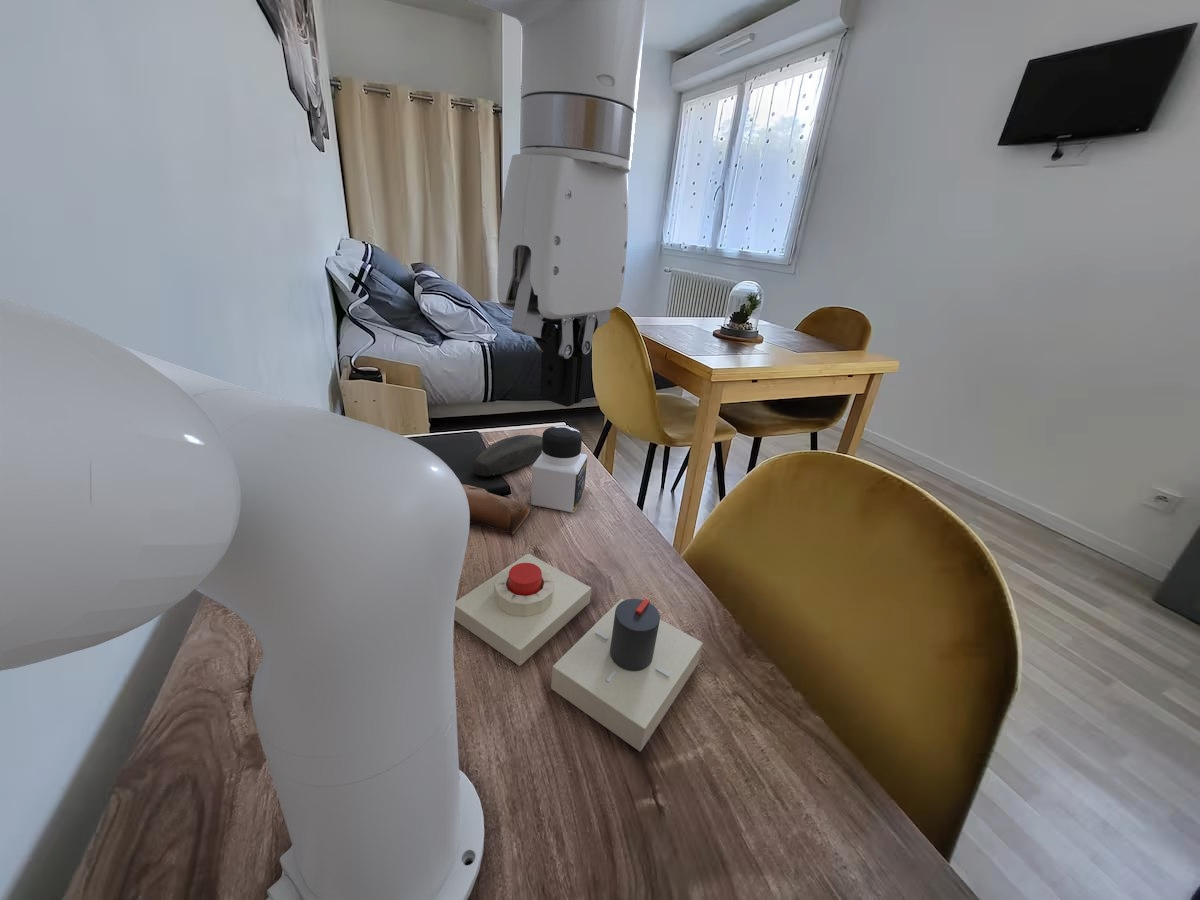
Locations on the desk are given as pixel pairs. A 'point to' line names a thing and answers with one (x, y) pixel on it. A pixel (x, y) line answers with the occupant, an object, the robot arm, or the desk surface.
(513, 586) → the power button
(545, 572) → the button block
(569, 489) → the medicine bottle
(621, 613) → the timer knob
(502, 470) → the decorative stone
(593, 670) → the timer panel
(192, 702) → the desk surface
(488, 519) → the sunglasses case
